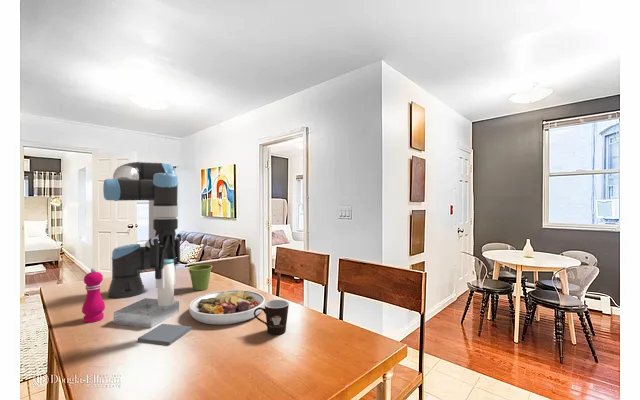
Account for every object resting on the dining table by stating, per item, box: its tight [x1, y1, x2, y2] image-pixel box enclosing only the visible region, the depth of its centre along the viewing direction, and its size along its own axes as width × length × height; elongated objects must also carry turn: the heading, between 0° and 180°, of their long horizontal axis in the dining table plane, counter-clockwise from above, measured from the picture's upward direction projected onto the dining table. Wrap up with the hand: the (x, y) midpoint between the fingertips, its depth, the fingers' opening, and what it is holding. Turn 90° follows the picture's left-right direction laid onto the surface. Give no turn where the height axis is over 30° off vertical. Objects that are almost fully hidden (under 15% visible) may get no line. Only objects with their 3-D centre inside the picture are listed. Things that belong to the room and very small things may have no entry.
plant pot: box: [187, 264, 213, 292], centre depth 161 cm, size 12×12×11 cm
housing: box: [113, 297, 180, 329], centre depth 124 cm, size 16×16×4 cm
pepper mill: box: [81, 267, 106, 324], centre depth 121 cm, size 7×7×20 cm
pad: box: [137, 323, 193, 346], centre depth 109 cm, size 12×12×1 cm
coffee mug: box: [254, 299, 290, 336], centre depth 113 cm, size 12×9×10 cm
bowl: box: [188, 289, 266, 326], centre depth 130 cm, size 30×30×8 cm
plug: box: [157, 259, 175, 306], centre depth 108 cm, size 5×5×15 cm
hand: (165, 285), depth 108 cm, fingers closed on plug, 5 cm apart
